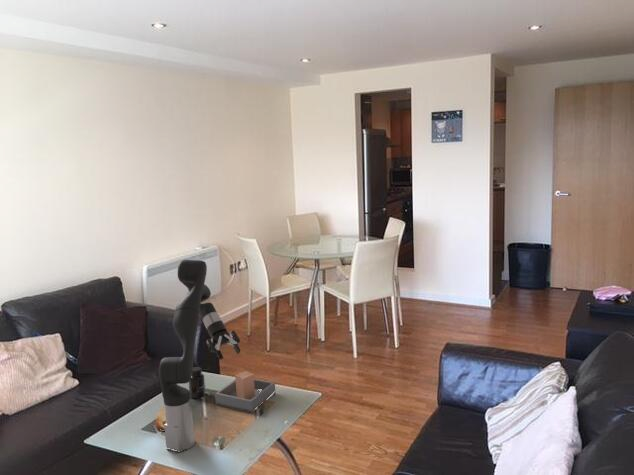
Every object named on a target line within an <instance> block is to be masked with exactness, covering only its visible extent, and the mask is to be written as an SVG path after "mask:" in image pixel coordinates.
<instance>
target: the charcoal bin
mask: <svg viewBox="0 0 634 475" xmlns="http://www.w3.org/2000/svg"><path fill="white" fill-rule="evenodd" d="M254 388H255V397H253V398H251V399H249V400H248V399H244V398H239V397H237V393H236V379H234V380H232V381H231V382H229V383H228V384H226V385H225V386H224V387H222V388H221V389H220V390H218V391H217V392H215V394H214V395H215V396H214V397H215V399H214V400H215V405H216V406H221V407H224V408H228V409H234V410H236V411H241V412H245V413H248V414H252V412H253V411H254V409H255V408H256V407H257V406H259V405H260V404H261V403H262V402H264V401H265V400H266V399H267V398H268V397H269V396H270V395H271V394H272V393H273V392H274V391H275V392H276V383H275V382H272V381H268V380H261V379H257V378H254ZM258 389H262V391H261V392H260V391H259V390H258ZM257 390H258V391H257ZM259 392H260V393H259ZM254 412H255V411H254ZM254 412H253V413H254Z"/></svg>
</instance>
